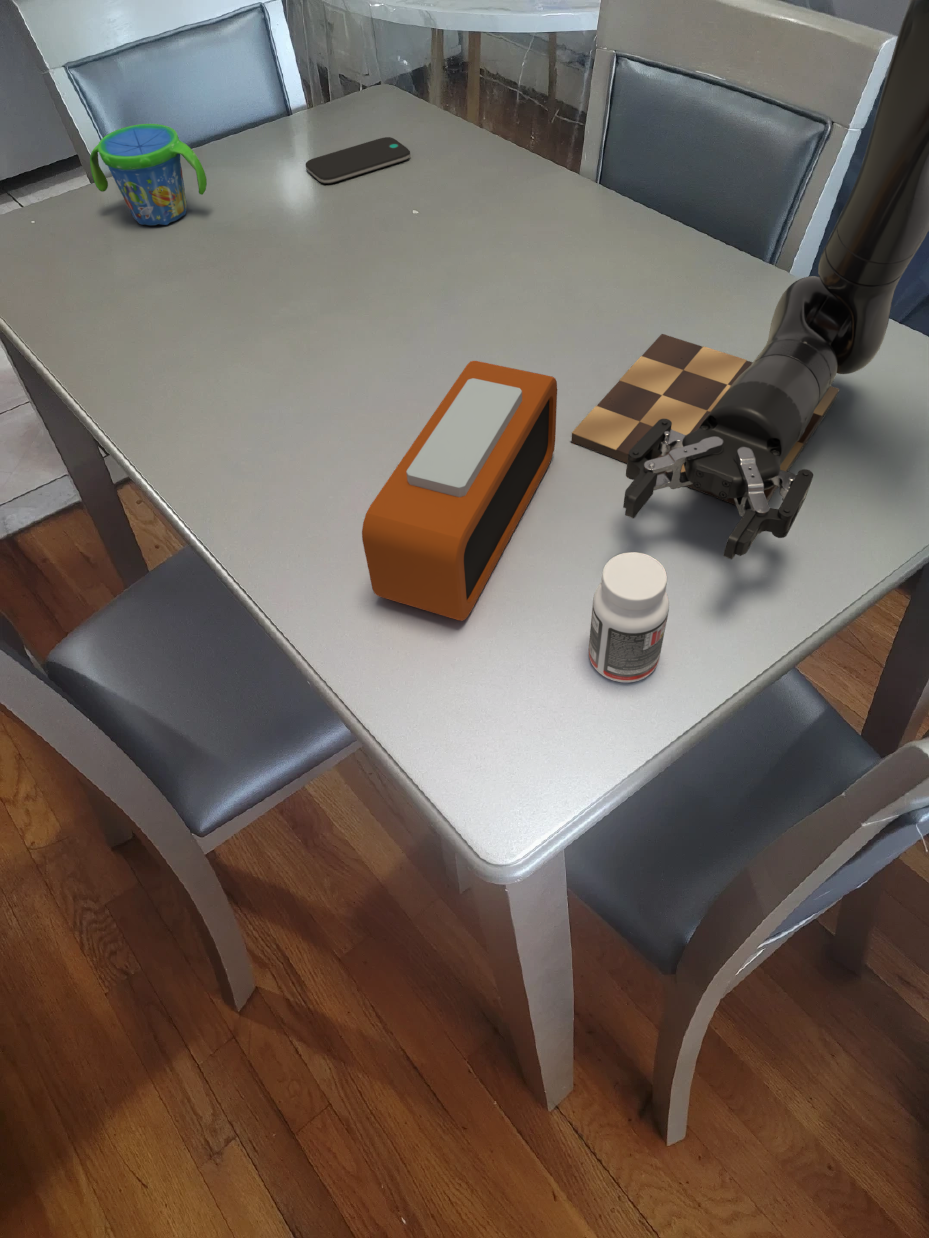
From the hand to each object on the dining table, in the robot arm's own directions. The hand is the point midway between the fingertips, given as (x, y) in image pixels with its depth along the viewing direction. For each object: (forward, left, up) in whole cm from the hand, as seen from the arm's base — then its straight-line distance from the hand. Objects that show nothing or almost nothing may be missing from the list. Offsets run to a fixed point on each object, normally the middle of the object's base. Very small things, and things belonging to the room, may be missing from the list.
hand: (678, 529), depth 68 cm
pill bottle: (0, +8, -8) cm, 11 cm away
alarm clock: (+19, +2, -8) cm, 21 cm away
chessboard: (+7, -23, -8) cm, 26 cm away
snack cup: (+91, -26, -8) cm, 95 cm away
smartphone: (+76, -52, -8) cm, 93 cm away
